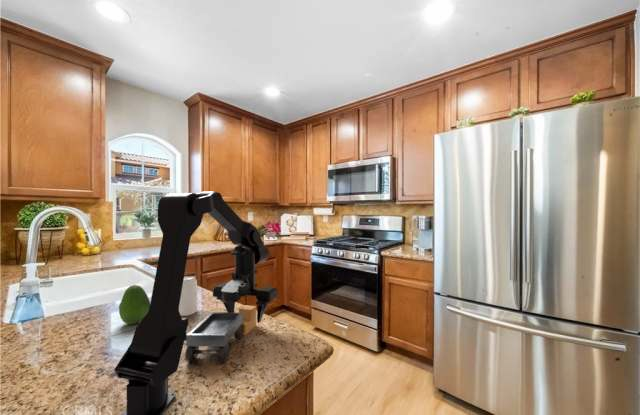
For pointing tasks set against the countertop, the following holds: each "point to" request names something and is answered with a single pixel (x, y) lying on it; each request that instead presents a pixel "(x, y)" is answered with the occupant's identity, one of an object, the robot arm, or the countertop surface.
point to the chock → (248, 318)
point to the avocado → (134, 305)
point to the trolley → (214, 335)
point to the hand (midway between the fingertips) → (245, 320)
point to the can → (188, 296)
